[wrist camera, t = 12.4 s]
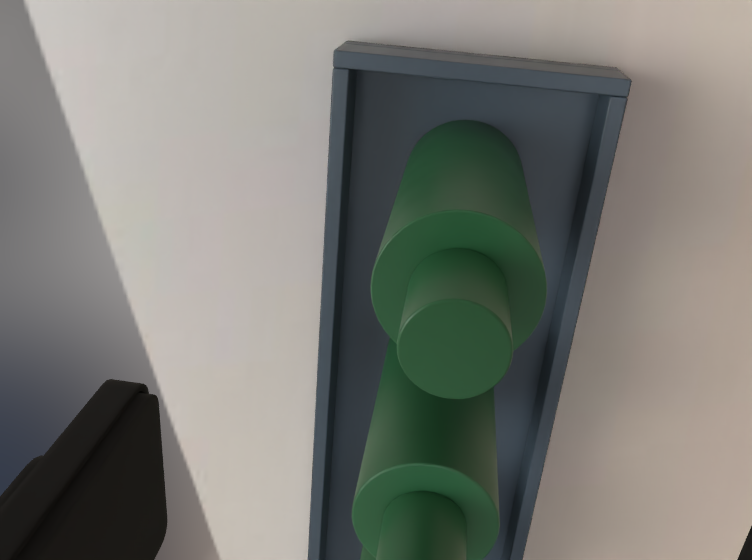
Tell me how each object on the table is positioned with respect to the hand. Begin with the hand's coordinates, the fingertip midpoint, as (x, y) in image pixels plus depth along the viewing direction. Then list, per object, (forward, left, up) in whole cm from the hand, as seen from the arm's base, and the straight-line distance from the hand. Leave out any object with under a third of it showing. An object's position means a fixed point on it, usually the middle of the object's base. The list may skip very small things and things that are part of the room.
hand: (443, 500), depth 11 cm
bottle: (+8, 0, -19) cm, 21 cm away
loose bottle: (0, 0, -19) cm, 19 cm away
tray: (+13, 0, -20) cm, 23 cm away
